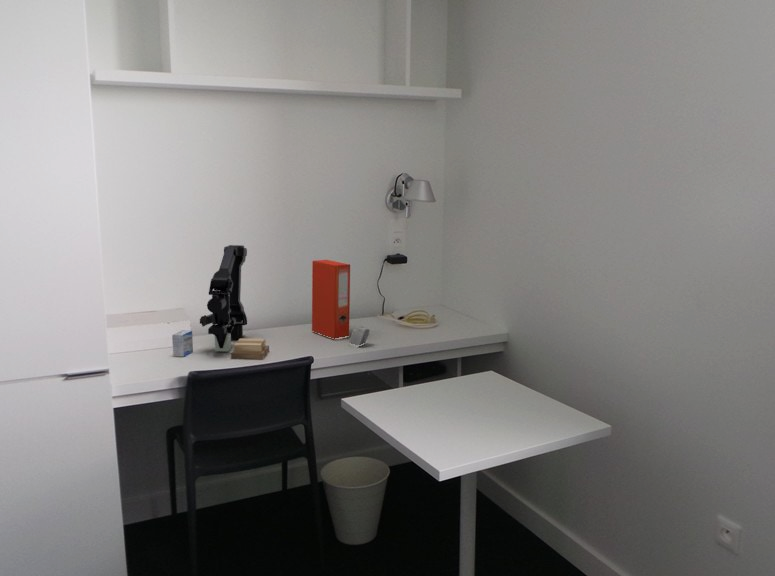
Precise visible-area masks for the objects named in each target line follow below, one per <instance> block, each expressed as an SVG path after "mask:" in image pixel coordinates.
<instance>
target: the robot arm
mask: <svg viewBox="0 0 775 576" xmlns="http://www.w3.org/2000/svg"><path fill="white" fill-rule="evenodd" d="M247 254H248V249H247V248H246V247H245V246H244V245H242V244H241V245H239V244H238V245H237V244H236V245H235V244H231V245H227V246H224V248H223V254H222V255H223V256H222V259H221V263H220V265H219V269H218V270H217V271H216V272H214V273H213V276H212V278H211V279H210V284H209V288H208V295H210V296H211V298H210V299H209V300H208V301H207V303H206V306H207V307H206V308H207V310H208V311H209V312H210V314H207V315H201V316H200V318H199V324H201V326H202V328H203V327H206V326H208V325H210V327H209V328H208V329H207V330H208V331H207V333H208V335H214V337H215V336H216V338H217V341H218V344H219V347H220V348H223V346H224V343H225V340H226V337H227V334H228V333H231V341H238V340H239V339H240V338H245V337H246V334H245V335H244V333H243V331H244V329H243V326H247V325H248V317H247V315H246V312H245V308H244V306H243V304H242V302H241V290H242V289H241V287H242V282H241V281H242V266H243V265H244V264H245V262H246V258H247ZM211 324H212V325H211Z"/></svg>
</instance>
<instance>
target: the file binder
mask: <svg viewBox="0 0 775 576" xmlns="http://www.w3.org/2000/svg"><path fill="white" fill-rule="evenodd" d="M311 264H312V265H311V267H312V268H311V269H312V276H311V278H312V281H311V282H312V283H311V285H312V287H311V288H312V289H311V292H312V293H311V296H312V297H311V300H312V301H311V332H312V331H314V332H317V333H320V334H322V335H325V336H328V337H331V338H334V339H335V338H339V337H345V336H349V337H350V308H351V307H350V303H351V302H350V301H351V298H350V297H351V291H350V290H351V288H350V287H351V264H349V263H345V262H339V261H335V260H329V259H321V260H320V259H319V260H312V263H311ZM322 335H321V336H322ZM325 336H324V337H325Z"/></svg>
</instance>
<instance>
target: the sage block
mask: <svg viewBox="0 0 775 576" xmlns="http://www.w3.org/2000/svg"><path fill="white" fill-rule="evenodd" d="M231 349H232V340H231V333H228V334H227V337H226V340H225V343H224V346H223V348H220V347H219V344H218V341H217V338H216V336H215V335H214V351H215V352H229V351H230V350H231Z"/></svg>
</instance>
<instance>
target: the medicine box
mask: <svg viewBox="0 0 775 576" xmlns="http://www.w3.org/2000/svg"><path fill="white" fill-rule="evenodd" d="M171 337H172V341H171V342H172V356H173V357H179V358H184V357H186V356H189V355H190V354H191V353H193V352H194V345H193V343H194V342H193V330H188V329H187V330H186V329H185V330H184V329H183V330H180V331H178V332H175V333H174V334H172V335H171Z"/></svg>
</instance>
